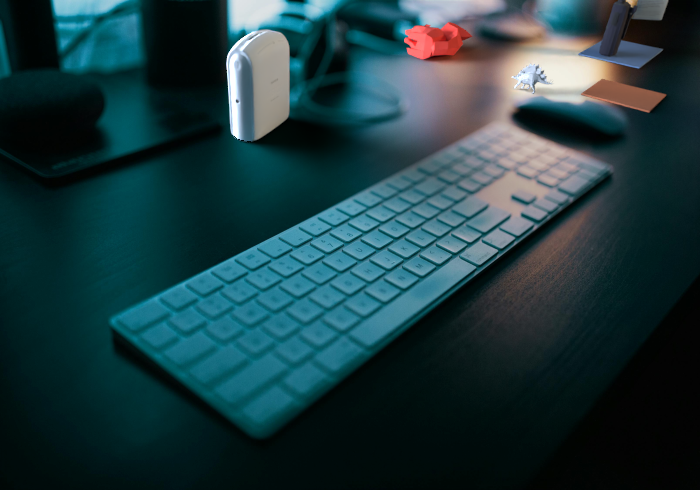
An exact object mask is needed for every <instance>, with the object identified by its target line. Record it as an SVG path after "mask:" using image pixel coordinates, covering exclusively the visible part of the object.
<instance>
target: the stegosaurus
mask: <svg viewBox="0 0 700 490" xmlns="http://www.w3.org/2000/svg"><path fill="white" fill-rule="evenodd" d="M547 77H548V76H547V75H546V73H545V69H543V70H542V66H541V67H540V64H536V63H533V64H532V63H529V64H528V65H526V66H525V67H523V68H522V69H520V71H519V72H517V75H512V76H511V78H512V79H514V80H516V81H518V82H517V83H516V84H515V85H514V87H513V89H517V87H518V86H520V85H521V84H522V86H521V87H520V88H521V89H524V88H525V86H526V85H527V86H528V87H526V88H525V89H526V90H530V88H531V89H532V90H533V91H532V93H531V94H535V93H536V86H535V85H536V84H537V83H541V84H543V85H552V84H553V82H554V80H553V81H552V80H551V81H550V82H549V81H547V80H548V79H547Z"/></svg>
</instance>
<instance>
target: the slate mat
mask: <svg viewBox="0 0 700 490" xmlns="http://www.w3.org/2000/svg"><path fill="white" fill-rule="evenodd" d="M601 42H602V40H600V41H598V42H597V43H595V44H593V45H591V46H590V47H588V48H586V49H583V50H582V51H580V52H578V56H581V57H587V58H591V59H595V60H599V61H603V62H608V63H612V64H616V65H621V66H624V67H629V68H634V69H637V70H638V69H641V68H642V67H643V66H645V65H646V64H648V63H649V62H650V61H651V60H652V59H654V58H655V57H656V56H658V55H659V54H660V53H661V52H662V51H663V50H664V48H659V47H655V46H651V45H645V44H640V43H636V42H631V41H626V40H623V39H621V42H620V46H619V48H618V51H617V53H616V55H613V56H610V57H609V56H604V55H601V54H599V50H600V46H601Z"/></svg>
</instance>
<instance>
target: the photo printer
mask: <svg viewBox="0 0 700 490" xmlns="http://www.w3.org/2000/svg"><path fill="white" fill-rule="evenodd" d="M226 57H227V58H226V70H227V71H226V73H227V86H228V87H227V88H228V104H229V124H230V133H231V135H233V137H234V136H235V137H236V138H237V140H238V139H240V140H239V141H241V140H244V141H243V142H247V141H251V142H254V141H257V140H259V139H261V138H263V137H264V136H266V135H267V134H269V133H270V132H272V131H273V130H274V129H276V128H278V127H279V126H280V125H282V123H284V122H285V121H286V120H287V119H288V118H289V116H290V45H289V41H288V40H287V37H286V36H285V35H284V34H283V33H282V32H280V31H275V30H271V29H259V30H255V31H252V32H251V33H248V34H247V35H245V36H244V37H242V38H240V40H238V41H237V42H236V43H235V44H234V45H233V46H232V48H231V49H230V51H229V52H228V54H227V56H226ZM235 137H234V138H235ZM236 138H235V139H236Z"/></svg>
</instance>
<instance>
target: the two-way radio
mask: <svg viewBox="0 0 700 490" xmlns="http://www.w3.org/2000/svg"><path fill="white" fill-rule="evenodd" d="M637 7H638V6H635V5H634V7H633V8H632V7H631V5H630V4H629V3H628V2H626V0H617V1H615V2H614V3H613V4H612V8H611V11H610V14H609V18H608V22H607V23H606V26H605V30H604V33H603V37H602V39H601V41H602V42H601V46H600V50H599V54H601V55H604V56H609V57H610V56H613V55H616V53H617V51H618V48H619V46H620V42H621V40H624V39H625V36H626V33H627V30H628V27H629V24H630V22H631V19H632V16H633V14H634V13H635V12H636V10H637Z"/></svg>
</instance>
